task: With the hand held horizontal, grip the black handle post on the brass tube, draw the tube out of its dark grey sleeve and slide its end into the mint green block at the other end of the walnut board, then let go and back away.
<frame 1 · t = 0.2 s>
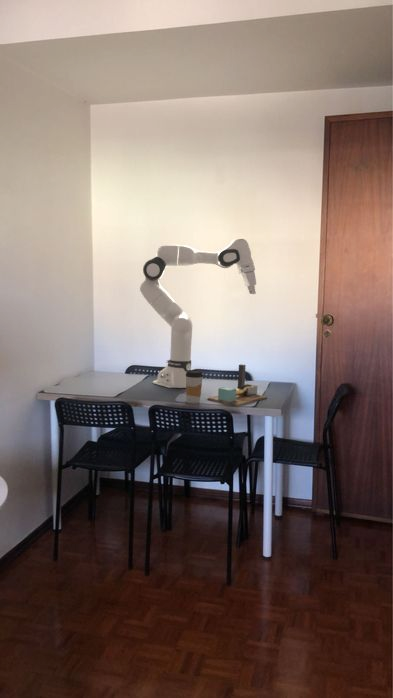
hand: (252, 293, 315), 51 cm above the table, tool tilted 15°, fingers open, 8 cm apart
coffee cup: (193, 402, 282), on the table
mint green block: (226, 401, 285), resting on board
sleeve: (246, 396, 298), resting on board
board: (237, 399, 292), on the table
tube: (243, 379, 294), point 9 cm above the table, slide at 0.0 cm
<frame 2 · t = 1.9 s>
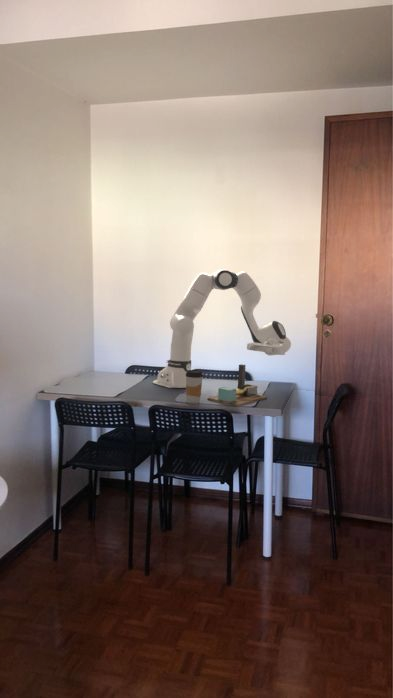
hand: (257, 349, 302), 24 cm above the table, tool horizontal, fingers open, 8 cm apart
nothing on the table moved.
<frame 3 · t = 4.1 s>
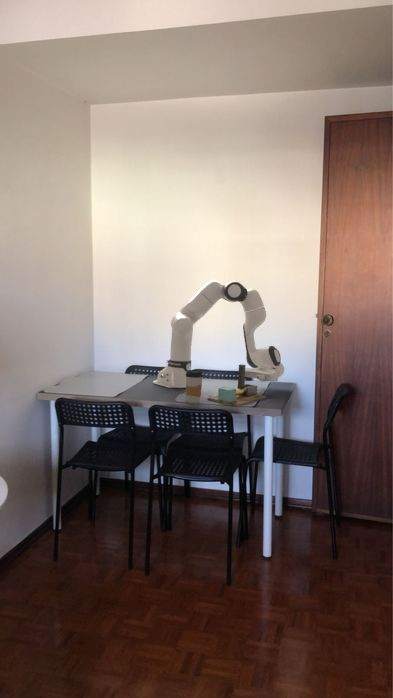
hand: (250, 376, 299), 10 cm above the table, tool horizontal, fingers open, 8 cm apart
nothing on the table moved.
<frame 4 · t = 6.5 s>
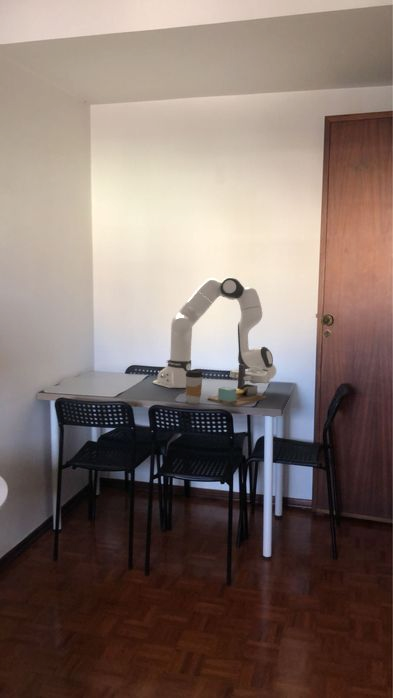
hand: (240, 377, 292), 11 cm above the table, tool horizontal, fingers closed on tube, 2 cm apart
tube: (243, 379, 294), point 9 cm above the table, slide at 0.0 cm, touching gripper
everything else where it was.
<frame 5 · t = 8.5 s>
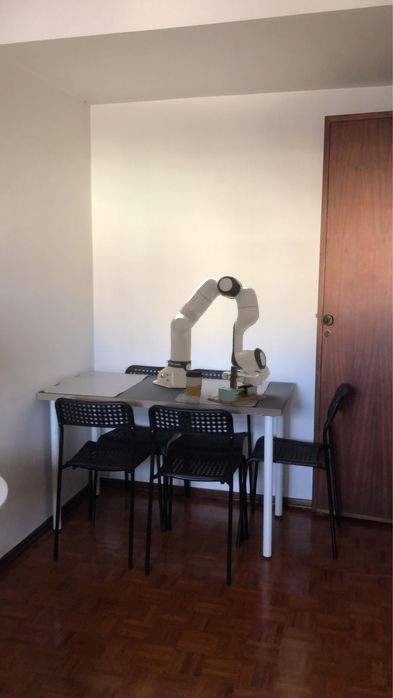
hand: (232, 379, 287), 11 cm above the table, tool horizontal, fingers closed on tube, 2 cm apart
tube: (235, 381, 289), point 9 cm above the table, slide at 6.9 cm, touching gripper
everything else where it was.
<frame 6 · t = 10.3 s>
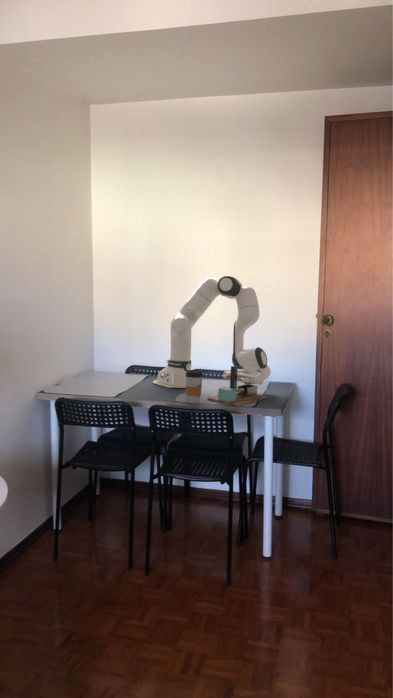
hand: (233, 378, 287), 11 cm above the table, tool horizontal, fingers open, 8 cm apart
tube: (235, 381, 289), point 9 cm above the table, slide at 7.0 cm
everything else where it was.
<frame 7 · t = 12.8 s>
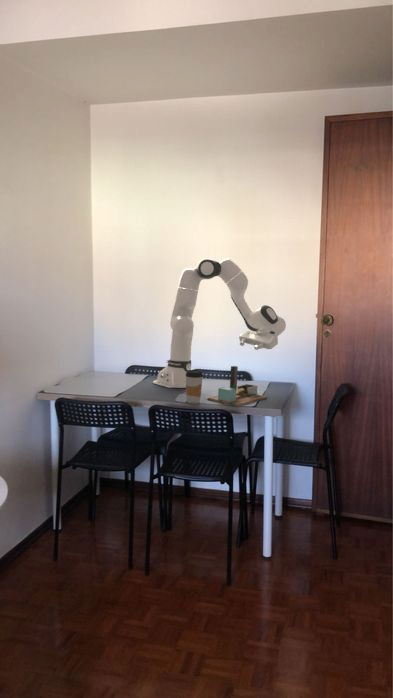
hand: (248, 346, 300), 25 cm above the table, tool tilted 70°, fingers open, 8 cm apart
nothing on the table moved.
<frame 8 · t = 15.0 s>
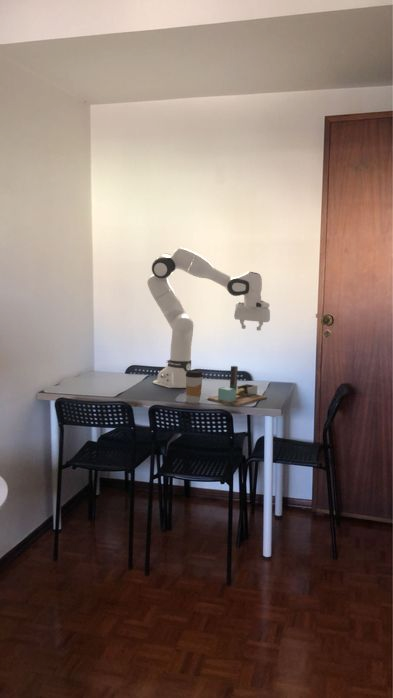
hand: (251, 329, 308), 33 cm above the table, tool pointing down, fingers open, 8 cm apart
nothing on the table moved.
at the end: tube slide at 7.0 cm; the gripper is holding nothing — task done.
